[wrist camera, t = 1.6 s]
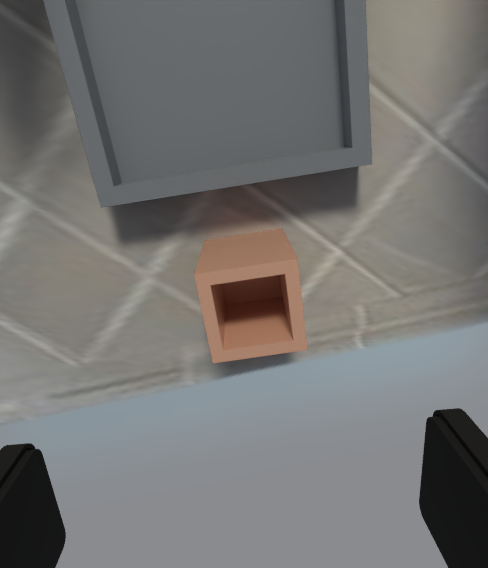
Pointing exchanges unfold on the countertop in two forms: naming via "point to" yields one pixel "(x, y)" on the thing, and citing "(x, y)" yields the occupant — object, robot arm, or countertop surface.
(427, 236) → the countertop surface
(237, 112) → the tray
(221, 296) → the open square box
